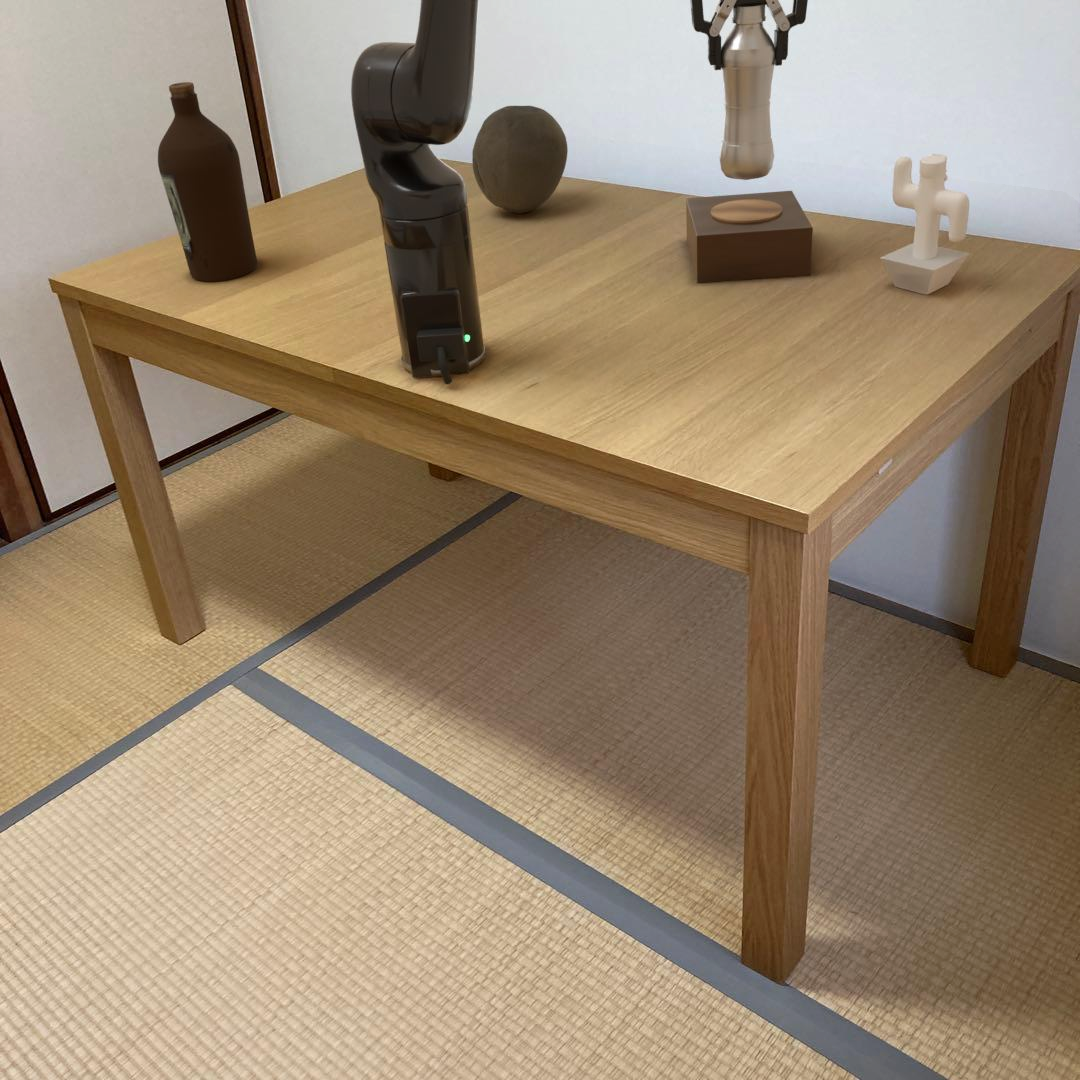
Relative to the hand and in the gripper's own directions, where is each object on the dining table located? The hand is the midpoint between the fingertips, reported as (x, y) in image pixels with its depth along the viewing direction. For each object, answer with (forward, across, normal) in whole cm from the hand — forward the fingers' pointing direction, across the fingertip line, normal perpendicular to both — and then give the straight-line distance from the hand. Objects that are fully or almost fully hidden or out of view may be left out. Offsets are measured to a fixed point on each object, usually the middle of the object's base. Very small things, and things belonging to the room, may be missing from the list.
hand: (747, 66), depth 138 cm
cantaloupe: (+24, -30, +29) cm, 48 cm away
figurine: (+24, +19, -14) cm, 34 cm away
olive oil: (+24, -72, +10) cm, 76 cm away
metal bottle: (+13, 0, 0) cm, 13 cm away
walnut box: (+24, 0, 0) cm, 24 cm away
